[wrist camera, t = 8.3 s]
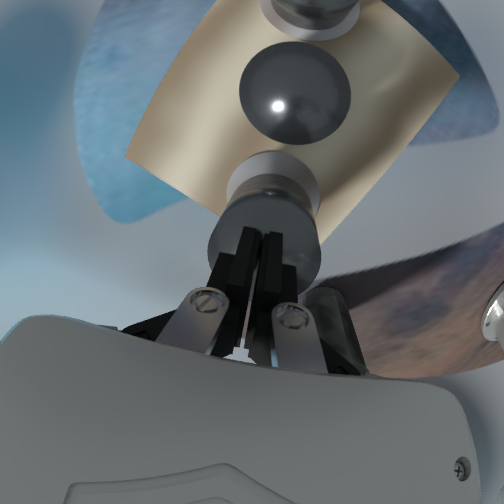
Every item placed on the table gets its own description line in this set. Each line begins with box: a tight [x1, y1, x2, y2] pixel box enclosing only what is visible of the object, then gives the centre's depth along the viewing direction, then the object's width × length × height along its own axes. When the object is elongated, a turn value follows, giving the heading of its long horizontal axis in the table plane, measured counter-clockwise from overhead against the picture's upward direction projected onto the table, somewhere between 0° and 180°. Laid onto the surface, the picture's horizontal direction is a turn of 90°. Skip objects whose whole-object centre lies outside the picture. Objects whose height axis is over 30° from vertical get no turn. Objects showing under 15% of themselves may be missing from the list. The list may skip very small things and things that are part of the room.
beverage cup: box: [300, 287, 369, 375], centre depth 19 cm, size 7×7×20 cm
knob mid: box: [239, 41, 351, 145], centre depth 13 cm, size 5×5×5 cm
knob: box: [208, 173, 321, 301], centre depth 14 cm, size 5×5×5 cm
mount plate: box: [124, 0, 460, 245], centre depth 16 cm, size 16×20×3 cm
